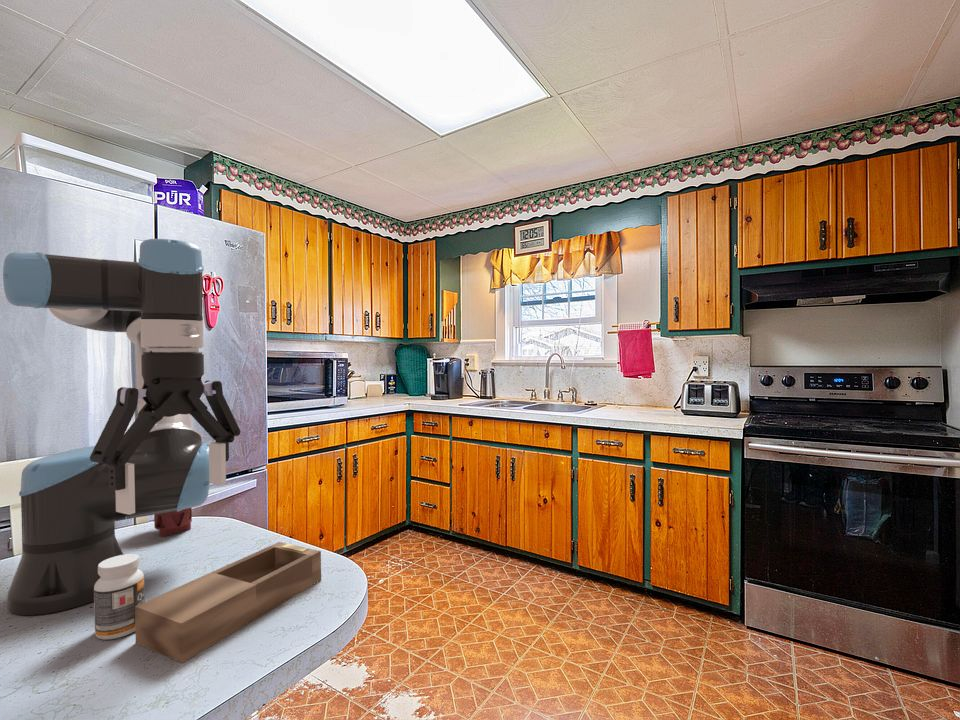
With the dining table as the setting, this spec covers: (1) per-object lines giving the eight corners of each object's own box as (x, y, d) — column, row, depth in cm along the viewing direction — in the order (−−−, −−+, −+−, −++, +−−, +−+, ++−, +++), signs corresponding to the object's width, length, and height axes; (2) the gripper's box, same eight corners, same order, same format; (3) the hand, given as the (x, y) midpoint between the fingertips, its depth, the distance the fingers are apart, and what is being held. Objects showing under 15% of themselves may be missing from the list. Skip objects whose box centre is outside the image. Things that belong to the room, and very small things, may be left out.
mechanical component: (209, 524, 109) (173, 541, 99) (173, 522, 111) (134, 538, 101) (208, 471, 109) (172, 483, 99) (172, 470, 111) (133, 481, 101)
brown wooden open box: (135, 643, 64) (134, 604, 64) (279, 569, 86) (279, 540, 85) (182, 662, 60) (181, 622, 59) (321, 579, 81) (320, 549, 81)
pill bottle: (150, 627, 68) (149, 558, 67) (100, 647, 63) (99, 573, 63) (138, 614, 71) (136, 548, 71) (89, 631, 67) (88, 562, 67)
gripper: (89, 352, 54) (94, 532, 55) (263, 349, 78) (264, 477, 78) (52, 351, 57) (56, 523, 58) (229, 349, 80) (231, 472, 81)
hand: (175, 497), depth 68 cm, fingers open, 13 cm apart
